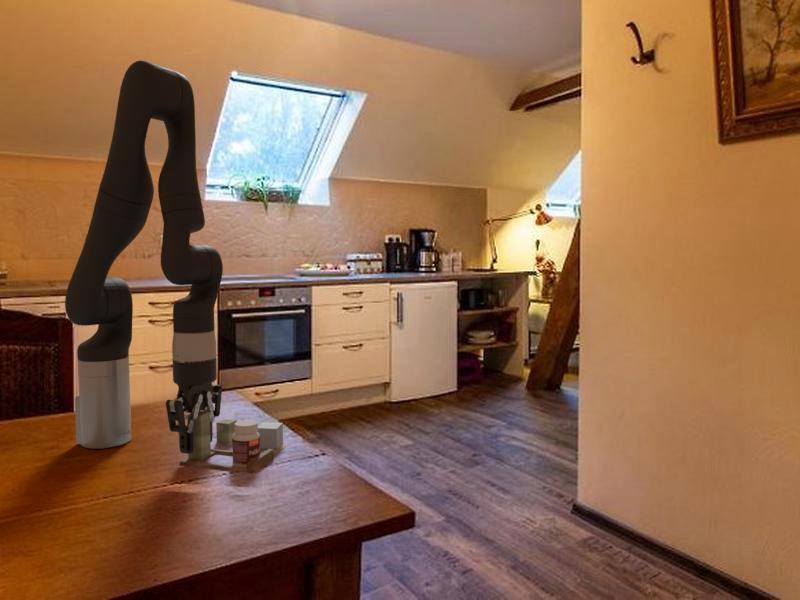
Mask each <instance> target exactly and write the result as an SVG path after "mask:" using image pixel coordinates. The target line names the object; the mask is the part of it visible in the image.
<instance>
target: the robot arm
mask: <svg viewBox="0 0 800 600" xmlns="http://www.w3.org/2000/svg"><path fill="white" fill-rule="evenodd" d="M195 104H196V103H195V96H194V91H193V87H192V84H191V82H190V81H189V79H188V78H187V77H186V76H185V75H184V74H182V73H180V72H178V71H176V70H174V69H169V68H167V67H164V66H162V65H158V64H155V63H152V62H149V61H146V60H137V61H134V62H133V63H131V64H130V65H129V67H128V68H127V70H126V71H125V72H124V76H123V79H122V82H121V85H120V89H119V96H118V100H117V107H116V113H115V120H114V128H113V133H112V138H111V141H110V146H109V147H110V148H109V151H108V156H107V159H106V164H105V168H104V170H103V171H104V172H103V174H102V178H101V180H100V183H99V187H98V192H97V193H96V194H97V195H96V199H95V202H94V207H93V211H92V215H91V220H90V223H89V227H88V230H87V233H86V237H85V240H84V244H83V246H82V250H81V252H80V255H79V257H78V260H77V262H76V265H75V267H74V270H73V273H72V275H71V278H70V280H69V283H68V285H67V289H66V293H65V297H64V298H65V300H64V306H65V313H66V317H67V318H68V320H69V321H70V322H71V323H73V324H75V325H76V326H82V327H83V326H85V327H86V326H97V325H98V327H97V330H96V331H95V332H94V334H93V335H92V336H90V337H89V338H88V339H86V340H85V341H83V342H81V343H80V344H79V345H78V346H77V351H76V355H77V358H76V359H77V375H78V376H77V377H78V379H77V382H78V395H77V396H75V398H74V411H75V412H74V413H75V415H74V416H75V436H76V437H75V438H76V439H75V440H76V441H75V443H76V444H77V445H80V446H81V447H83V448H87V449H107V448H108V449H109V448H114V447H118V446H122V445H125V444H127V443H129V442H130V441H131V440H132V421H131V420H132V417H131V416H132V415H131V387H130V386H131V382H130V356H129V352H130V346H131V343H132V339H133V307H134V305H133V296H132V295H133V294H132V291H131V289H130V286H129V285H128V283H127V282H126V281H125V280H124V279H123V278H120V277H116V276H115V277H114V276H110V277H109V275H108V274H109V272H110V269H111V268H112V265H113V264H114V262H115V261H116V259H117V258H118V257H120V254H121V253H123V251H124V250H125V249H126V248H127V247H129V245H130V244H131V243H132V242H133V241H134V240H135V239H136V238H137V237H138V235H139V234H140V233H141V231H143V229H144V228H145V225H146V223H147V220H148V218H149V217H148V216H149V213H150V210H151V206H152V204H153V198H154V194H155V193H154V192H155V189H154V188H155V186H154V181H153V177H152V173H151V170H150V167H149V164H148V159H147V156H146V146H145V145H146V138H147V134H148V130H149V125H150V122H151V119H153V120H157V121H161V122H163V124H164V127H165V130H166V133H167V140H168V141H167V142H168V146H167V153H166V156H165V159H164V161H163V164H162V166H161V170H160V173H159V177H158V181H157V183H158V184H157V190H158V191H157V193H158V200H159V205H160V211H161V215H162V216H161V217H162V222H163V231H162V241H161V250H160V267H161V271H162V274H163V275H164V277H165V278H166V279H167V280H168V281H169V282H170V283H171V284H172V285H176V286H189V285H191V286H190V290H189V293H188V295H186V296H185V297H181V298H180V299H176V301H175V302H173V306H172V307H173V308H172V329H173V334H172V336H173V337H172V343H171V345H172V346H171V347H172V349H171V350H172V354H171V355H172V381H173V383H174V384H176V386H178V389H177V395H176V397H175V398H173V399H167V400H166V401H165V407H166V415H167V419H168V426H169V427H168V428H169V432H173V433H174V432H175V433H178V436H179V439H178V441H179V443H178V444H179V451H180V453H181V454H187V455H188V454H190V453H192V452H193V432H192V429H193V424H194V421H195V420H196V419H197V417H198V412H199V411H205V412H210V441H211V443H212V442H213V436H214V435H213V434H214V433H213V423H214V422H215V418H217V417H219V416H220V414H221V406H222V405H221V404H222V393H223V386H222V384H213V383H214V382H215V381H216V380H217V378H218V377H217V376H218V374H217V373H218V371H217V370H218V369H217V368H218V367H217V361H218V360H217V341H216V334H215V305H216V302H217V299H218V295H219V291H220V286H221V283H222V279H223V278H222V277H223V271H224V270H223V269H224V266H223V265H224V264H223V260H222V258H221V254H220V252H219V251H218V250H217V249H216V248H214V246H210V245H206V244H203V245H202V244H200V245H199V244H190V243H191V242H190V238H191V234H194V233H197V232H200V231H201V230H203V228H204V227H205V225H206V219H205V213H204V208H203V202H202V197H201V193H200V186H199V181H198V180H199V179H198V171H197V160H196V159H197V155H196V154H197V151H196V150H197V149H196V148H197V147H196V145H197V142H196V137H197V135H196V110H195V109H196V105H195ZM186 413H187V414H186ZM190 413H191V414H190ZM188 414H190V415H188ZM187 419H188V421H187V423H186V420H187Z"/></svg>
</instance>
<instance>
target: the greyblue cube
mask: <svg viewBox="0 0 800 600" xmlns="http://www.w3.org/2000/svg"><path fill="white" fill-rule="evenodd" d="M257 432H258V433H259V434H260V450H261V449H262V450H267V449H278V448H279V447H280V445H281V444H284V422H266V421H263V422H261V424H258V430H257Z"/></svg>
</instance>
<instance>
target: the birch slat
mask: <svg viewBox="0 0 800 600" xmlns="http://www.w3.org/2000/svg"><path fill="white" fill-rule="evenodd" d="M236 422H238V421H237V419H229V418H228V419H227V418H223V419H221V420H219V421H217V422H216V427H215V429H216V441H215V442H214V444H218V445H227V446H228V445H229V446H233V445H232V437H233V434H234V433H235V431H234V424H235V423H236ZM288 446H290V444H288V443H287V444H286V443H282V444H281V445H280V447H279V448H278V449H274V451H282V450H283V449H284V448H287V447H288Z"/></svg>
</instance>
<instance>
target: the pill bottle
mask: <svg viewBox="0 0 800 600" xmlns="http://www.w3.org/2000/svg"><path fill="white" fill-rule="evenodd" d="M258 426H259V423H258V421H256V420H251V419H248V420H247V419H244V420H239V421H237V422H236V423H235V424H234V431H235V433H234V434H233V437H232V445H231V446H232V451H233V455H232V466H236V467H245V468H248V462H249V461H251V460H252V459H254V458H255V457H257V456H258V455H260V454H261V449H260V434H259V433H258V432H257V430H258Z"/></svg>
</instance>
